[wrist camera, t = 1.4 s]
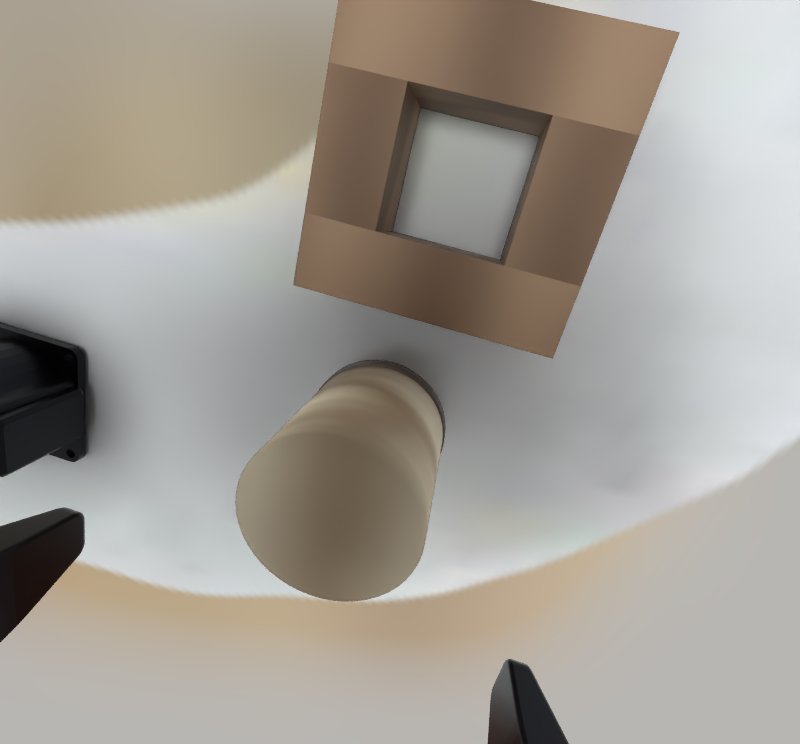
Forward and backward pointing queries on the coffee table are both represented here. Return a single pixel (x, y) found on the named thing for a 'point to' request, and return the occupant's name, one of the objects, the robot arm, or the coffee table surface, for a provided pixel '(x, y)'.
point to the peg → (347, 484)
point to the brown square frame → (488, 103)
